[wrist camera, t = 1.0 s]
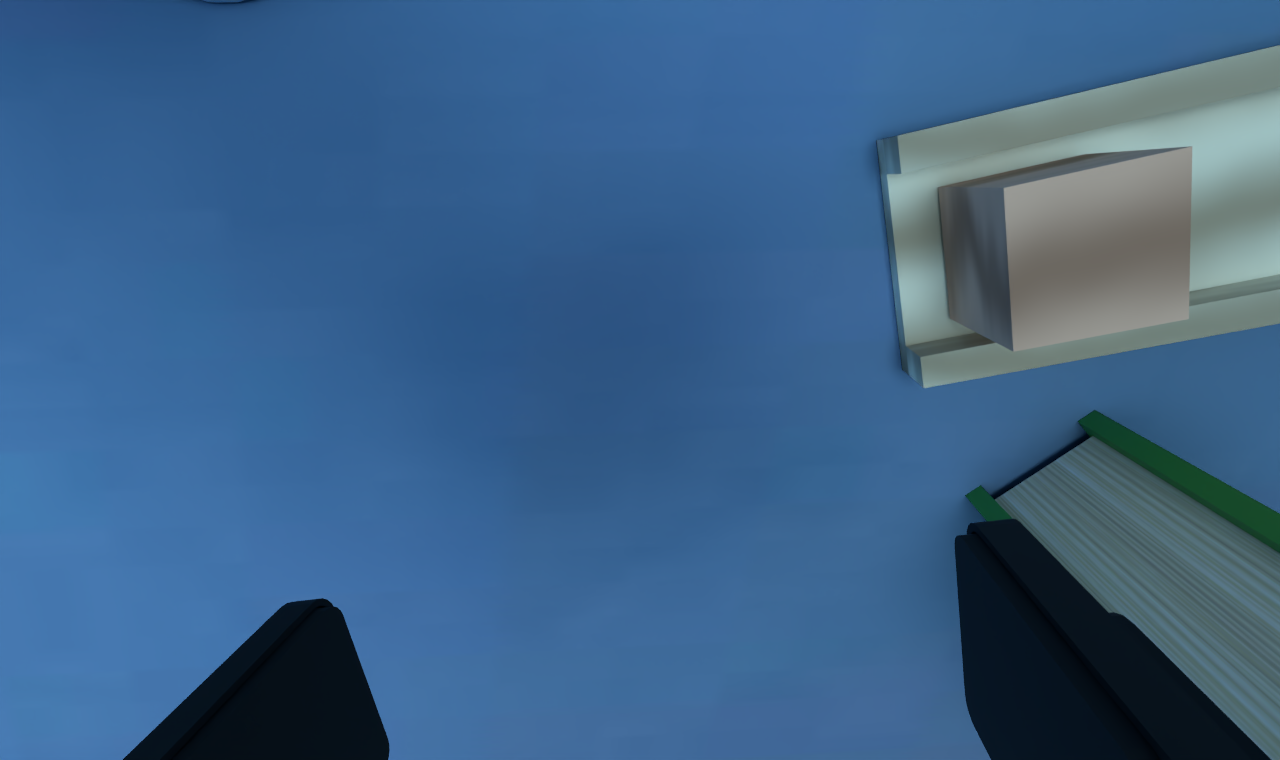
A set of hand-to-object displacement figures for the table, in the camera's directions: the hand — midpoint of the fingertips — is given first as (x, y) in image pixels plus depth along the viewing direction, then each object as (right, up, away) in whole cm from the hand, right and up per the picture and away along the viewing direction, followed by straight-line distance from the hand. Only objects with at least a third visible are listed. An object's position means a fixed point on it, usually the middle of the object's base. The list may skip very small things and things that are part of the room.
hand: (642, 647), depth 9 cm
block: (+17, +10, +19) cm, 27 cm away
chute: (+22, +12, +19) cm, 31 cm away
